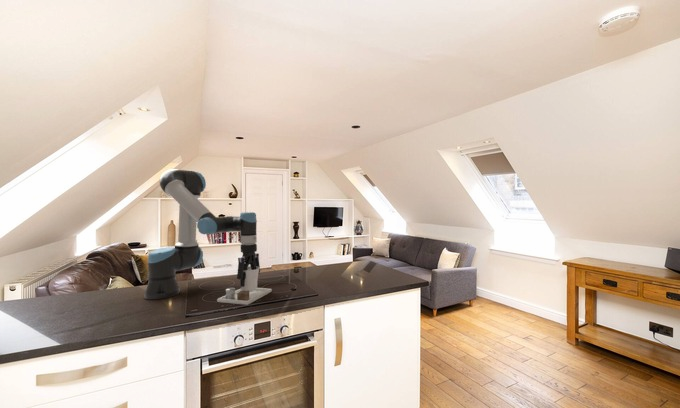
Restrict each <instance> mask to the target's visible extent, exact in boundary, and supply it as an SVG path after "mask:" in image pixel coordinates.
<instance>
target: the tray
mask: <svg viewBox="0 0 680 408" xmlns="http://www.w3.org/2000/svg"><path fill="white" fill-rule="evenodd" d="M272 290H273V289H272V288H265V287H257V288H256V290H255V291H254V292H249V300H248V301H243V300H237V293H239V292H240V291H241V287H240V288H239V289H235V300H232V299H226V294H225V295H223V296H221V297H218V298H217V299H216V302H218V303H224V304H236V305H246V306H248V305H250V304H252V303H253V302H255V301H257V300H259V299H261V298H262V297H264V296H266V295H268V294H270V293H271V292H272Z"/></svg>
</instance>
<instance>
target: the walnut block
mask: <svg viewBox="0 0 680 408" xmlns="http://www.w3.org/2000/svg"><path fill="white" fill-rule="evenodd" d="M237 300H243V301H248V300H249V291H240V292H239V293H237Z"/></svg>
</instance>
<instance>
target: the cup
mask: <svg viewBox="0 0 680 408" xmlns="http://www.w3.org/2000/svg"><path fill="white" fill-rule="evenodd" d="M256 267H257V266H256ZM259 269H260V270H261V267H257V268H256V269H255V270H252V269H251V266H250V265H249V266H248V269H247V271H246V278H245V279H247V291H249V292H254V291H255V290H256V286H257V287H258V279H259V278H258V277H259V275H258V273H260V272H259ZM244 272H245V271H244Z"/></svg>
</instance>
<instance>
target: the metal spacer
mask: <svg viewBox="0 0 680 408" xmlns="http://www.w3.org/2000/svg"><path fill="white" fill-rule="evenodd" d="M235 291H236V288H235V287H228V288H225V295H226V299H232V300H235Z"/></svg>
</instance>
